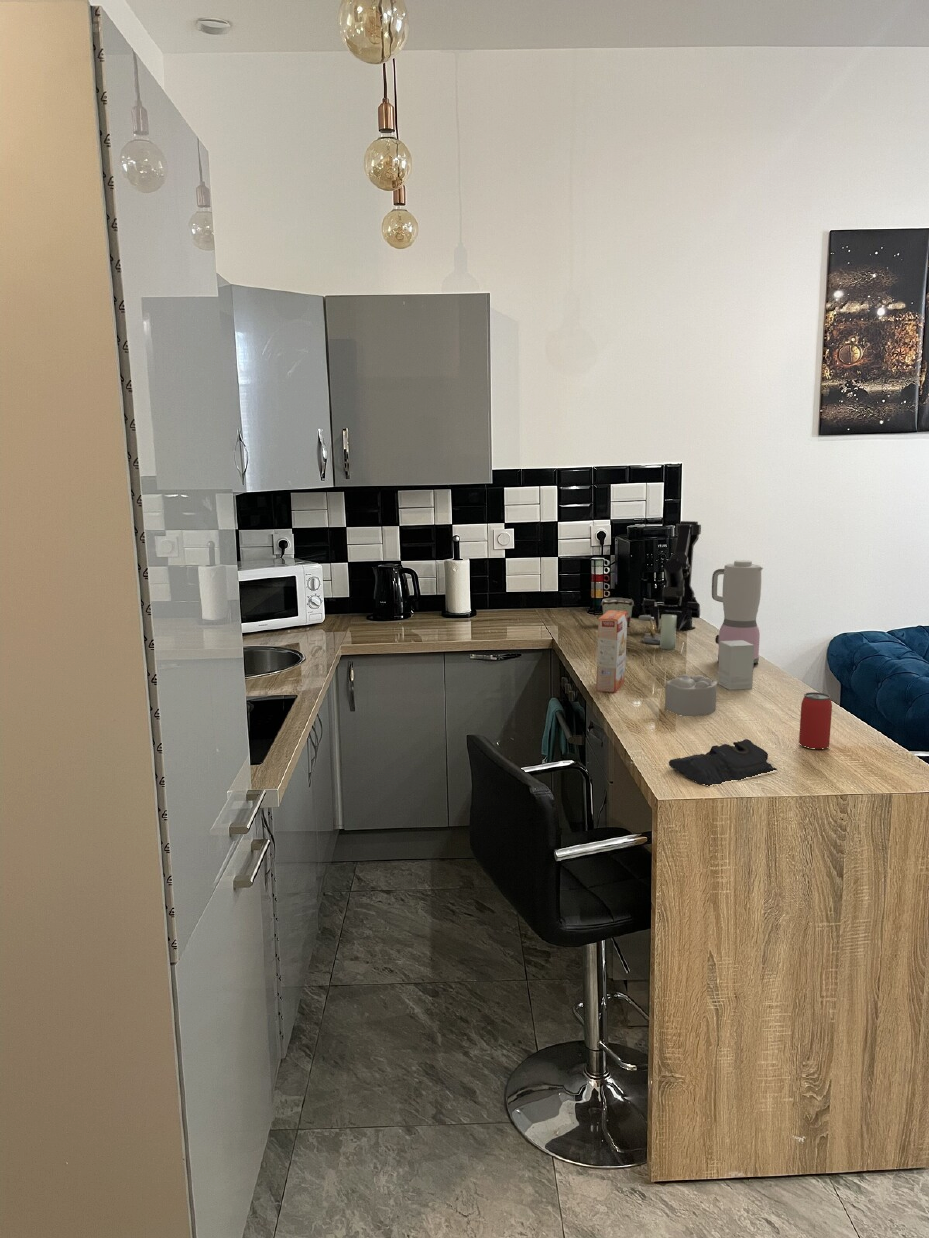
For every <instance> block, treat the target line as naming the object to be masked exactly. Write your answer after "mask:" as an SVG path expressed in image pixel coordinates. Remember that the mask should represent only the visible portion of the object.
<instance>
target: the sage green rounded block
mask: <svg viewBox="0 0 929 1238" xmlns="http://www.w3.org/2000/svg"><path fill="white" fill-rule="evenodd" d="M676 618H677V616H676V615H675V614H673V613H672V614H670V613H669V614H668V613H665V614H663V613H662V614H661V615H660V634H659V635H660V645H659V648H660V649H662V650H667V651H668V650H675V649H676V644H677V643H676V642H677V640H676V639H677V638H676V637H677V636H676V635H677V629H676Z"/></svg>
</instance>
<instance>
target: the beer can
mask: <svg viewBox="0 0 929 1238" xmlns="http://www.w3.org/2000/svg"><path fill="white" fill-rule="evenodd" d="M803 696H804V697H803V699H802V701H801V705H800V717H799V719H800V720H799V734H798V738H799V739H798V744H799V743H800V744H801V745H802V746H806V747H809V748H815V749H822V748H826V749H828V748H829V747H830V740H831V728H832V727H831V725H832V715H833V713H832V712H833V711H832V710H833V703H832V700H831V695H829V694H828V693H825V692H818V691H817V692H816V691H813V692H810V691H809V692H805V693H804V695H803ZM800 744H799V745H800ZM801 745H800V746H801ZM802 746H801V747H802ZM827 747H828V748H827Z"/></svg>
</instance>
